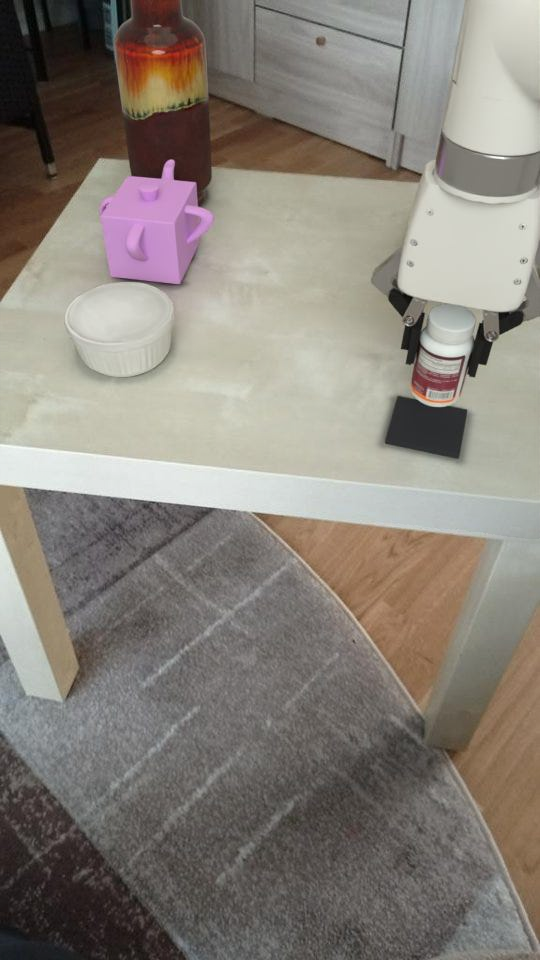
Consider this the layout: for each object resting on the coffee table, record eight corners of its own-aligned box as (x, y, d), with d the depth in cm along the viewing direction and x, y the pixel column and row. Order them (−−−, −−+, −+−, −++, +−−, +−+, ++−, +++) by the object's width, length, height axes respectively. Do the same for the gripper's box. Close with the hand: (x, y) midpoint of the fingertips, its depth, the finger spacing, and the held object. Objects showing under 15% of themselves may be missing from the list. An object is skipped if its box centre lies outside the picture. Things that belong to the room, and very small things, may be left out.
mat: (466, 413, 73) (467, 409, 73) (458, 459, 69) (459, 454, 69) (397, 399, 75) (397, 395, 74) (385, 443, 70) (385, 439, 70)
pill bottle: (429, 368, 71) (446, 293, 65) (470, 392, 69) (492, 317, 62) (398, 391, 68) (412, 315, 62) (440, 416, 66) (458, 340, 60)
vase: (122, 211, 100) (89, -13, 81) (150, 175, 107) (125, -38, 88) (199, 221, 99) (185, -5, 79) (222, 184, 106) (214, -31, 86)
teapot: (131, 220, 98) (121, 144, 91) (232, 231, 97) (230, 154, 89) (85, 296, 86) (69, 215, 79) (200, 309, 85) (194, 228, 77)
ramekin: (53, 371, 77) (42, 329, 73) (105, 312, 84) (97, 272, 80) (149, 396, 75) (143, 354, 71) (194, 333, 82) (191, 293, 78)
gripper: (613, 154, 53) (540, 354, 67) (382, 123, 56) (357, 320, 70) (614, 202, 48) (536, 407, 62) (362, 165, 51) (340, 368, 65)
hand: (442, 359), depth 66 cm, fingers closed on pill bottle, 4 cm apart
